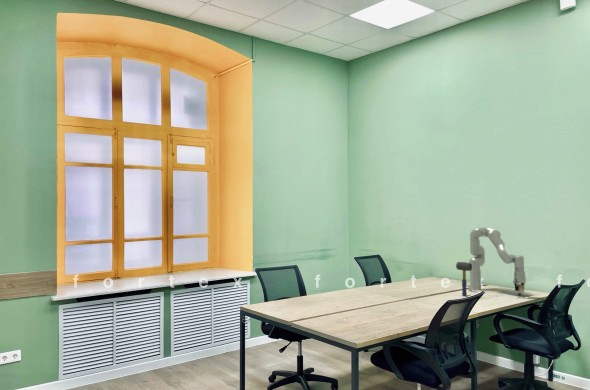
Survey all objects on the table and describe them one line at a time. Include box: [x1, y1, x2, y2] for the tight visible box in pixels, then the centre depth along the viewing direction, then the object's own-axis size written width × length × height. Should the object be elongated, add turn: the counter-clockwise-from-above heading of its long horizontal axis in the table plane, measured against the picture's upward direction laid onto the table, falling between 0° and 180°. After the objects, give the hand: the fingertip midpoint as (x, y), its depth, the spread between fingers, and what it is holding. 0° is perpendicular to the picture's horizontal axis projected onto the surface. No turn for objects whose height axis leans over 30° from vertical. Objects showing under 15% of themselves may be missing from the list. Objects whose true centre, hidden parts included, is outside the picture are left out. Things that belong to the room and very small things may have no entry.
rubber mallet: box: [455, 261, 472, 297], centre depth 398 cm, size 12×8×30 cm, turn 41°
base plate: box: [497, 290, 529, 298], centre depth 399 cm, size 24×12×2 cm, turn 27°
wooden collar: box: [514, 283, 525, 292], centre depth 393 cm, size 8×7×5 cm
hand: (519, 289), depth 393 cm, fingers closed on wooden collar, 7 cm apart
